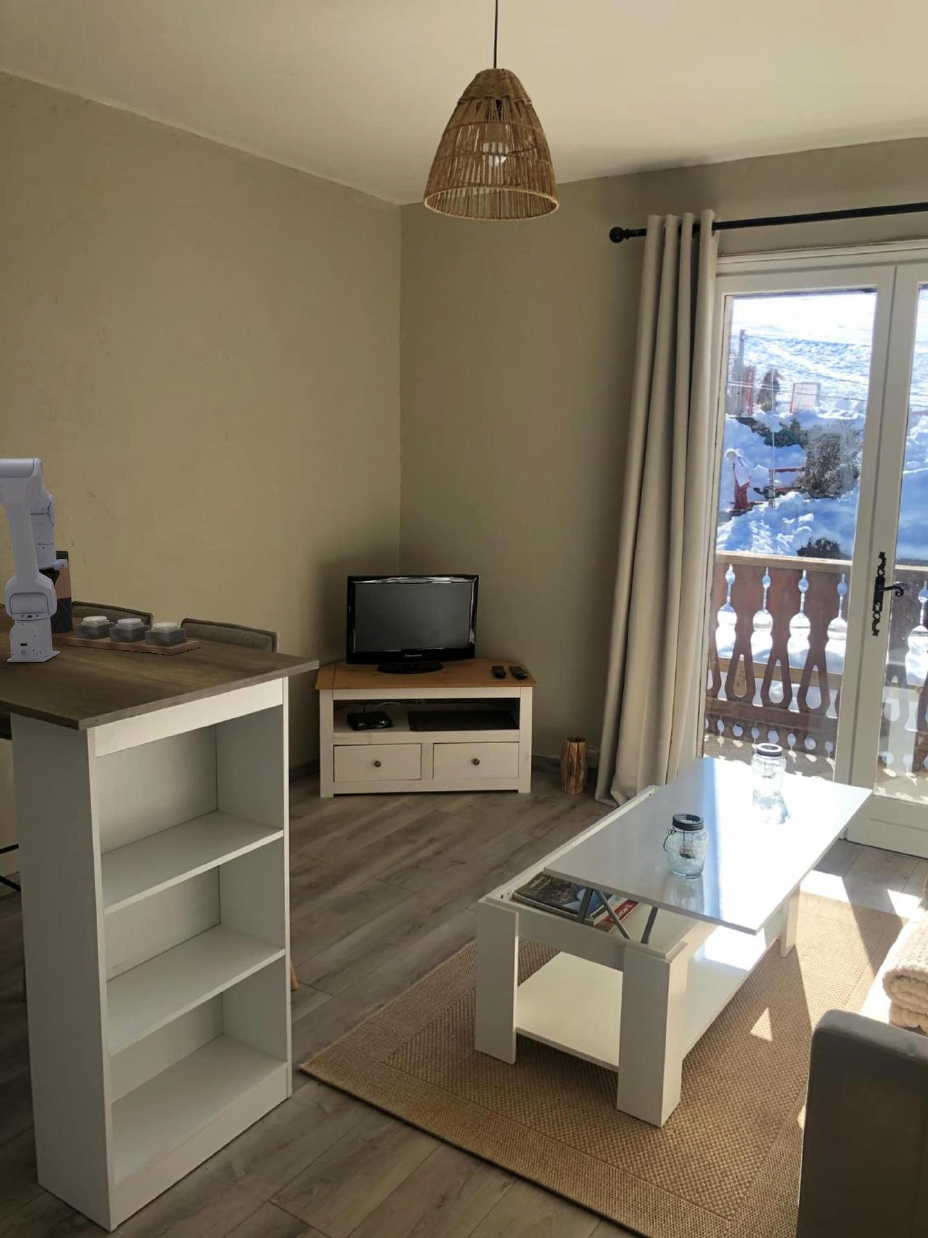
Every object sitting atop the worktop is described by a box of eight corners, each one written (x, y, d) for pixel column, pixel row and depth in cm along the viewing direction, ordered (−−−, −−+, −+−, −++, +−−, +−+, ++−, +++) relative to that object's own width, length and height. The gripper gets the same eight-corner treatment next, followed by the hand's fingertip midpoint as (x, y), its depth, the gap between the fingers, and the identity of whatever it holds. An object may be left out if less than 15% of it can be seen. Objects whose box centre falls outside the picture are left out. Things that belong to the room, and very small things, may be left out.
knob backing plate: (199, 647, 235) (199, 628, 234) (171, 655, 226) (170, 635, 225) (94, 637, 248) (93, 619, 247) (63, 644, 239) (61, 625, 238)
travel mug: (79, 630, 257) (74, 551, 254) (49, 634, 252) (44, 554, 249) (65, 626, 263) (60, 549, 259) (36, 630, 257) (30, 552, 254)
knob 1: (112, 634, 242) (111, 617, 241) (96, 638, 237) (95, 620, 237) (95, 633, 244) (94, 615, 244) (79, 636, 240) (78, 618, 239)
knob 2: (146, 637, 238) (145, 619, 237) (131, 641, 233) (130, 622, 232) (129, 635, 240) (128, 617, 239) (113, 639, 235) (112, 621, 235)
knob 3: (182, 641, 234) (181, 623, 233) (167, 645, 229) (166, 626, 228) (164, 639, 236) (163, 621, 235) (149, 643, 231) (148, 625, 230)
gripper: (35, 547, 230) (39, 606, 232) (76, 541, 243) (80, 597, 246) (9, 546, 232) (13, 605, 234) (51, 540, 245) (55, 596, 248)
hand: (46, 601), depth 240 cm, fingers closed
